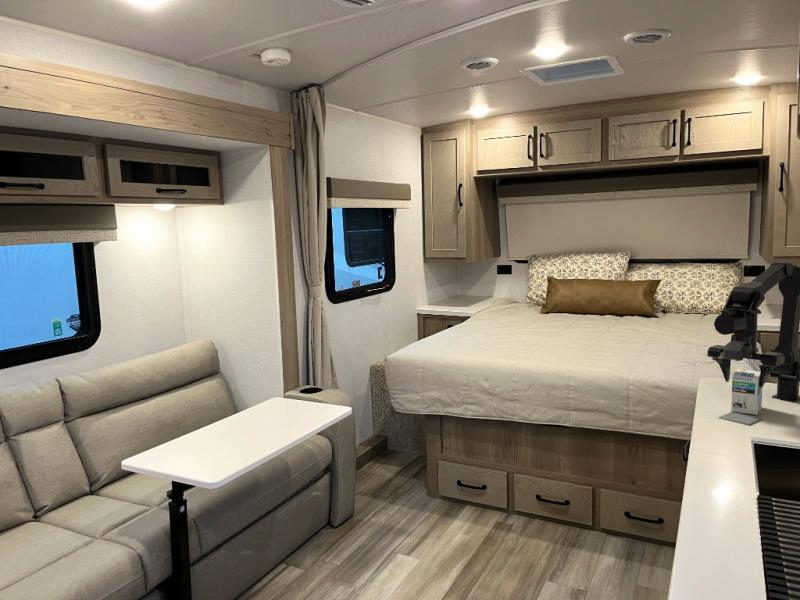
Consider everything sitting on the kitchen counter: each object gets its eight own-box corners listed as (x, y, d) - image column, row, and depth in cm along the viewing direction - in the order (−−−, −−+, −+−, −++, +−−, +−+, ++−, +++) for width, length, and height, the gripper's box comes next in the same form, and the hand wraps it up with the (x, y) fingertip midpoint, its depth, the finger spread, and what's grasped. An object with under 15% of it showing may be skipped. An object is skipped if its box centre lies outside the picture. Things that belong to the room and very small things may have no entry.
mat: (732, 412, 173) (732, 411, 173) (762, 419, 167) (762, 417, 167) (718, 418, 168) (718, 417, 168) (748, 425, 162) (748, 423, 162)
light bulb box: (757, 415, 168) (759, 377, 167) (730, 411, 172) (731, 374, 172) (762, 407, 177) (763, 371, 176) (736, 404, 181) (737, 368, 180)
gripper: (698, 330, 174) (697, 383, 176) (768, 338, 159) (766, 396, 161) (717, 326, 180) (716, 377, 182) (786, 333, 165) (784, 388, 167)
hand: (743, 384), depth 173 cm, fingers open, 9 cm apart
